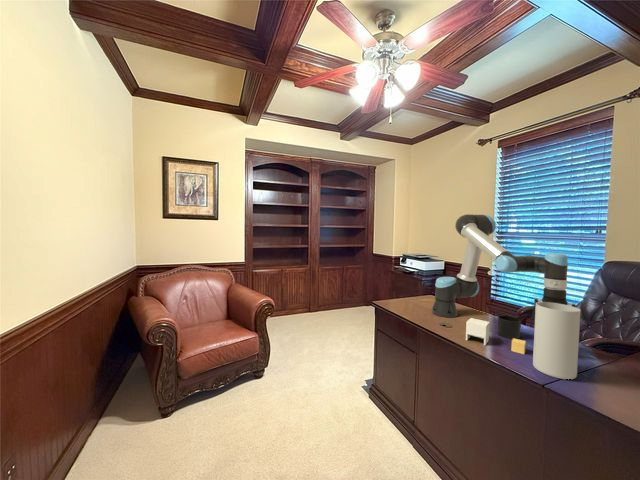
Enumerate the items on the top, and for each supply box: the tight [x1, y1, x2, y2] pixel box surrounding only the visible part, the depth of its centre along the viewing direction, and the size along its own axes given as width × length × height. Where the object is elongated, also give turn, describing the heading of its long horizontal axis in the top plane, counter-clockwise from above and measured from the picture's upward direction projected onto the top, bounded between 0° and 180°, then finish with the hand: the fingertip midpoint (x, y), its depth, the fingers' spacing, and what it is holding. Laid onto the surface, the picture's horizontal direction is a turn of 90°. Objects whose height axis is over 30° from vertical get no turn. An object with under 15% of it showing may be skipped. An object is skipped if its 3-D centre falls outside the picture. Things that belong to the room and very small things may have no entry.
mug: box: [496, 315, 522, 340], centre depth 134 cm, size 9×12×9 cm
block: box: [510, 338, 527, 355], centre depth 116 cm, size 4×4×4 cm
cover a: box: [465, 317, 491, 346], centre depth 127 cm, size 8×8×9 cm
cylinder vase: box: [532, 301, 581, 381], centre depth 99 cm, size 12×12×25 cm
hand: (552, 339), depth 116 cm, fingers closed on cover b, 8 cm apart
